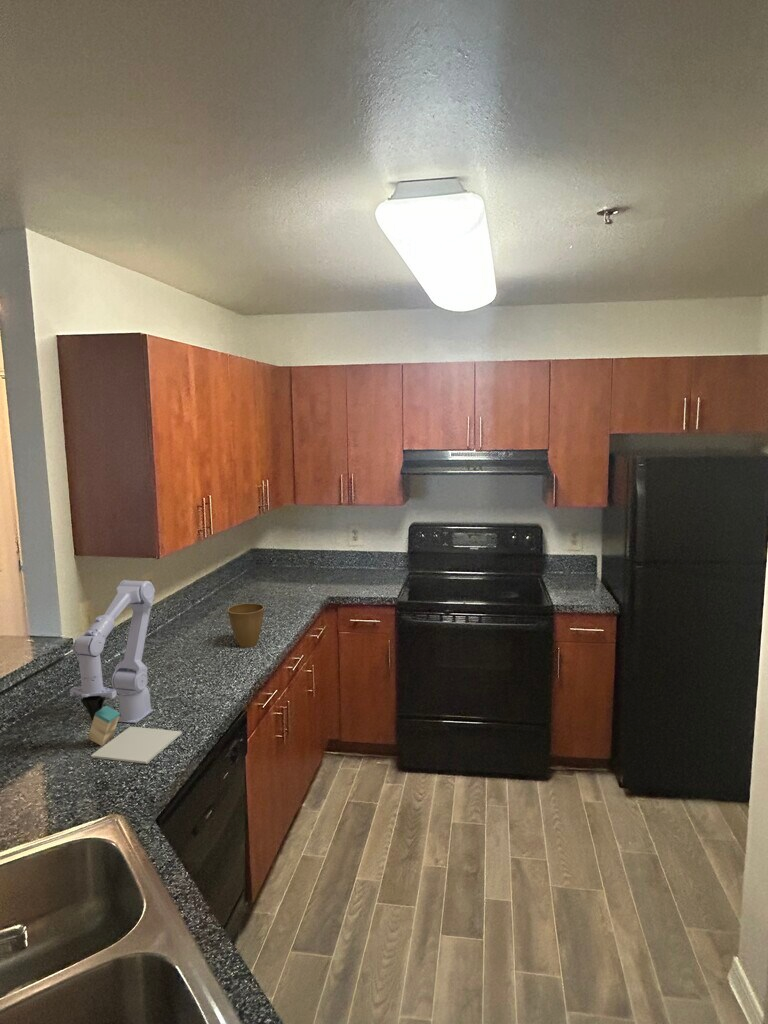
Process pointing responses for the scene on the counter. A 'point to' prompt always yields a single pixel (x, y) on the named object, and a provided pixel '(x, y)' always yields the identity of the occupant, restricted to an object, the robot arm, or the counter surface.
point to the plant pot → (246, 623)
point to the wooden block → (103, 725)
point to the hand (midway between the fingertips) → (95, 719)
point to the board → (137, 745)
